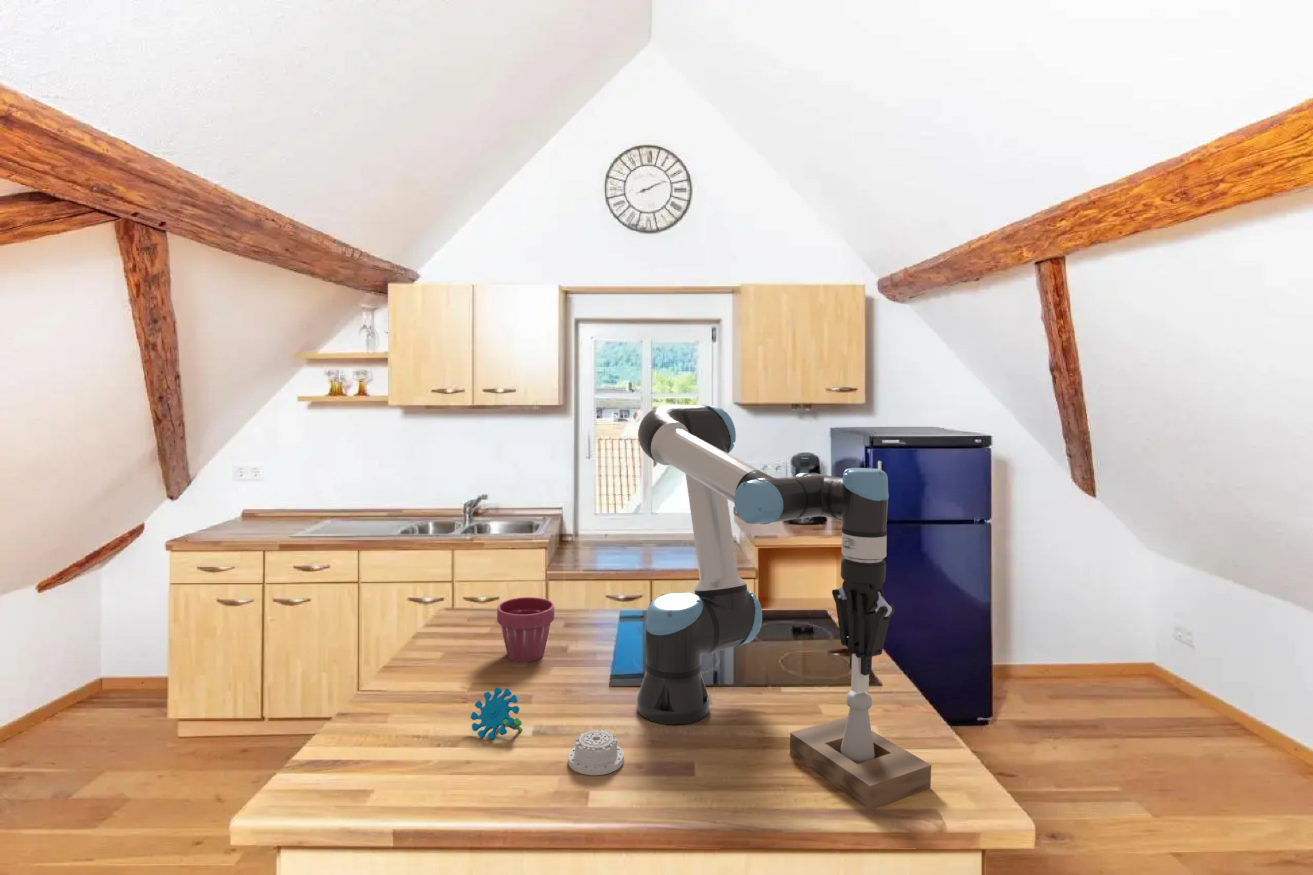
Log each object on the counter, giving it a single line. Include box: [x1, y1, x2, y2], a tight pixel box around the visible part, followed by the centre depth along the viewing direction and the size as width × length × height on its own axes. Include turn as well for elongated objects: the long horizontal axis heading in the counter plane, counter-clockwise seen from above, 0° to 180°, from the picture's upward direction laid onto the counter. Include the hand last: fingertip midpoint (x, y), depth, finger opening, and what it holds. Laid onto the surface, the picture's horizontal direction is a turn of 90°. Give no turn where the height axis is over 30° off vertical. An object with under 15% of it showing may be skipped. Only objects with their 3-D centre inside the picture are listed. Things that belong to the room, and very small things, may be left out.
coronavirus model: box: [470, 687, 524, 740], centre depth 139 cm, size 11×6×10 cm
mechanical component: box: [567, 729, 625, 776], centre depth 128 cm, size 10×4×10 cm
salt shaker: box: [841, 690, 875, 764], centre depth 125 cm, size 6×6×13 cm
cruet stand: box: [789, 716, 932, 811], centre depth 126 cm, size 20×14×4 cm
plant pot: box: [496, 596, 555, 662], centre depth 178 cm, size 14×14×13 cm
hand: (859, 690), depth 125 cm, fingers closed
